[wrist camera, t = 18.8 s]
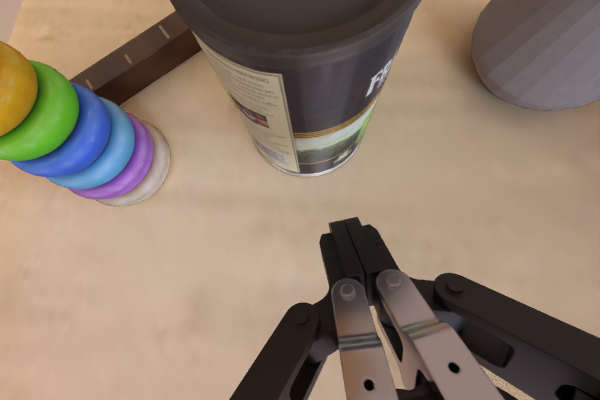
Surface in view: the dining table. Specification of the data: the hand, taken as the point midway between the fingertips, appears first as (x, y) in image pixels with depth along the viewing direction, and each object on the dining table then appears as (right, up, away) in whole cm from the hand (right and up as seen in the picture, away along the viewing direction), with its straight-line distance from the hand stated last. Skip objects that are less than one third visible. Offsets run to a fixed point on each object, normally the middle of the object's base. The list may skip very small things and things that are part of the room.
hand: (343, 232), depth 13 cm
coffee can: (-2, +9, +10) cm, 13 cm away
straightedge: (-14, +16, +12) cm, 25 cm away
